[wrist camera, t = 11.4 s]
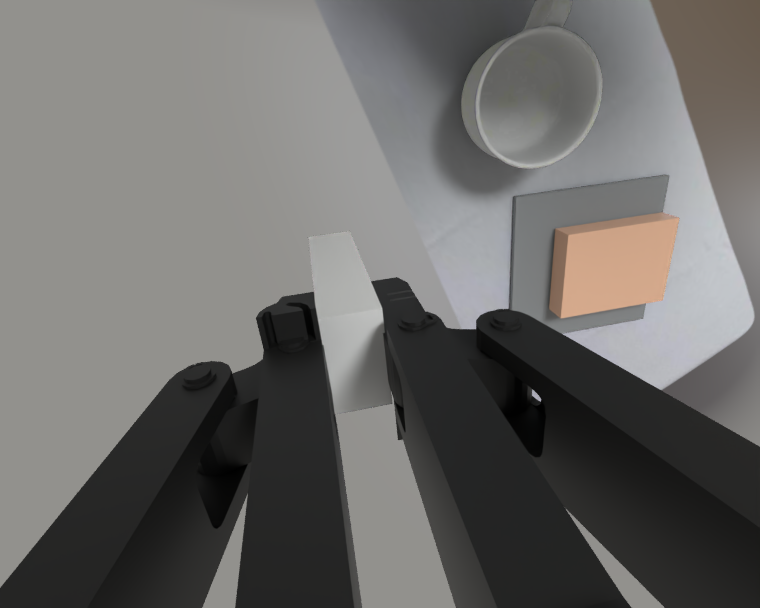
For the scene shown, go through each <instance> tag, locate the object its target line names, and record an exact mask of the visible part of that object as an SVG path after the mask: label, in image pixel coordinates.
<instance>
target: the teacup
mask: <svg viewBox="0 0 760 608" xmlns="http://www.w3.org/2000/svg"><path fill="white" fill-rule="evenodd" d="M572 1H573V0H536V1H535V3H534V5H533V8H532V10H531V12H530V15H529V17H528V20H527V22H526V25H525V27H524V29H523V30H522V31H521V32H519V33H517V34H515V35H513V36H511V37H508V38H506V39H504V40H502V41H499V42H498V43H496V44H495V45H493V46H491V47H490V48H489V49H488V50H486V51H485V52H484V53H483V54H482V55H481V56H480V57H479V59H478V60H477V61H476V63H475V64H474V65H473V67H472V69H471V70H470V72H469V74H468V76H467V79H466V81H465V84H464V88H463V92H462V99H461V112H462V118H463V122H464V125H465V128H466V130H467V132H468V134H469V136H470V137H471V139H472V140H473V142H474V143H475V144H476V145H477V146H478V147H479V148H480V149H481V150H483V151H484V152H485V153H487V154H489V155H491V156H493V157H495V158H497V159H499V160H501V161H502V162H504V163H506V164H508V165H511V166H514V167H517V168H522V169H536V168H542V167H546V166H549V165H551V164H554V163H556V162H557V161H559V160H561V159H563V158H564V157H566V156H567V155H568V154H570V153H571V152H572V151H573V150H574V149H575V148H576V147H577V146H578V145H579V144H580V143H581V142H582V141H583V140H584V138H585V137H586V135H587V134H588V133H589V131H590V129H591V128H592V126H593V124H594V121H595V119H596V117H597V114H598V112H599V107H600V104H601V97H602V90H603V88H602V85H603V83H602V72H601V69H600V65H599V61H598V59H597V57H596V55H595V52H594V51H593V50H592V48H591V46H590V45H589V44H588V43H587V42H586V41H585V40H584V39H583V38H581V37H580V36H579V35H577V34H575V33H574V32H571V31H569V30H567V29H565V28H562V27H563V25H564V23H565V21H566V19H567V17H568V15H569V12H570V9H571V6H572Z"/></svg>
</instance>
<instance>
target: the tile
mask: <svg viewBox="0 0 760 608" xmlns="http://www.w3.org/2000/svg"><path fill="white" fill-rule="evenodd" d="M678 223H679V217H675V216H672V215H669V214H666V213H662V212H660V213H654V214H647V215H641V216H634V217H628V218H621V219H614V220H608V221H601V222H595V223H588V224H582V225H575V226H569V227H562V228H556V229H555V240H554V253H553V265H552V278H551V291H550V304H549V309H550V310H551V311H552V312H553V313H555V314H556V315H557V316H558V317H559V318H567V317H572V316H578V315H583V314H589V313H595V312H600V311H606V310H611V309H617V308H623V307H628V306H634V305H639V304H645V303H651V302H656V301H662V300H663V297H664V292H665V287H666V282H667V277H668V272H669V267H670V262H671V257H672V252H673V247H674V242H675V237H676V233H677V228H678Z"/></svg>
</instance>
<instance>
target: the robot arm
mask: <svg viewBox="0 0 760 608" xmlns="http://www.w3.org/2000/svg"><path fill="white" fill-rule="evenodd" d="M308 240H309V249H310V258H311V268H312V278H313V286H314V292H310V293H304V294H297V295H291V296H285V297H282V298H281V299H280V300H279V301H278V302H277V303H276V304H274V305H271V306H269V307H266V308H265V309H263V310H262V311H261V312H259V314H258V316H257V317H256V320H257V324H258V328H259V332H260V336H261V340H262V344H263V348H264V354H263V360H261V361H260V362H258V363H257V364H255V365H253V366H251V367H249V368H246V369H244V370H241V371H238V372H235V373H233V374H232V371H231V369H230V367H229V365H227V364H225V363H223V362H215V361H210V362H201V363H197V364H196V365H191V366H189V367H187V368H186V369H184V370H182V371H180V372H178V373H177V374H176V375H175V376H174V377H172V378H171V379H170V380H169V381H168V382H167V384H166V385H165V386H164V387H163V389H162V390H161V391H160V392H159V394H158V395H157V396H156V397H155V399H154V400H153V401H152V402H151V403H150V405H149V406H148V407H147V408H146V410H145V411H144V412H143V413H142V414H141V416H140V417H139V418H138V419H137V421H136V422H135V423H134V424H133V425H132V427H131V428H130V429H129V430H128V432H127V433H126V434H125V435H124V437H123V438H122V439H121V440H120V441H119V443H118V444H117V445H116V446H115V448H114V449H113V450H112V451H111V452H110V454H109V455H108V456H107V457H106V459H105V460H104V461H103V462H102V464H101V465H100V466H99V467H98V468H97V470H96V471H95V472H94V474H93V475H92V476H91V477H90V478H89V480H88V481H87V482H86V483H85V484H84V486H83V487H82V488H81V489H80V491H79V492H78V493H77V494H76V495H75V497H74V498H73V499H72V500H71V502H70V503H69V504H68V505H67V507H66V508H65V509H64V510H63V511H62V513H61V514H60V515H59V516H58V518H57V519H56V520H55V521H54V523H53V524H52V525H51V526H50V527H49V529H48V530H47V531H46V533H45V534H44V535H43V536H42V537H41V539H40V540H39V541H38V542H37V543H36V545H35V546H34V547H33V548H32V550H31V551H30V552H29V554H27V556H26V557H25V558H24V559H23V561H22V562H21V563H20V564H19V566H18V567H17V568H16V570H15V571H14V572H13V573H12V574H11V575H10V577H9V578H8V579H7V580H6V582H5V583H4V584H3V585H2V586H1V588H0V608H202V607H203V604H204V602H205V599H206V597H207V594H208V592H209V589H210V586H211V584H212V581H213V579H214V577H215V574H216V572H217V569H218V566H219V564H220V561H221V559H222V556H223V554H224V551H225V549H226V546H227V544H228V541H229V539H230V536H231V533H232V531H233V529H234V526H235V523H236V521H237V519H238V516H239V513H240V511H241V509H242V506H243V504H244V501H245V498H246V496H247V494H248V498H247V507H246V516H245V525H244V534H243V543H242V552H241V561H240V571H239V579H238V589H237V597H236V607H235V608H362V604H361V596H360V590H359V582H358V575H357V567H356V560H355V552H354V545H353V538H352V531H351V523H350V516H349V509H348V502H347V494H346V487H345V480H344V472H343V465H342V458H341V450H340V443H339V436H338V429H337V423H336V417H335V415H336V414H341V413H346V412H351V411H357V410H362V409H367V408H372V407H378V406H383V405H387V404H392V396H391V392H392V395H393V398H394V405H395V415H396V424H397V434H398V440H402V439H403V441H404V444H405V447H406V451H407V454H408V457H409V460H410V463H411V466H412V469H413V473H414V476H415V479H416V482H417V485H418V488H419V492H420V495H421V498H422V501H423V504H424V508H425V511H426V514H427V517H428V520H429V523H430V526H431V530H432V533H433V536H434V539H435V542H436V546H437V549H438V552H439V555H440V558H441V561H442V565H443V568H444V571H445V574H446V577H447V580H448V584H449V586H450V590H451V593H452V596H453V599H454V603H455V606H456V608H631V607H630V605H629V604H628V603H627V601H626V600H625V599H624V597H623V596H622V594H621V593H620V591H619V590H618V588H617V587H616V585H615V584H614V582H613V581H612V579H611V578H610V576H609V575H608V573H607V572H606V570H605V568H604V567H603V565H602V564H601V563H600V561H599V559H598V558H597V556H596V555H595V553H594V552H593V550H592V549H591V547H590V546H589V544H588V543H587V541H586V540H585V538H584V537H583V535H582V533H581V532H580V530H579V529H578V527H577V526H576V524H575V523H574V521H573V520H572V518H571V517H570V515H569V514H568V512H567V511H566V509H567V510H568V511H569V512H570V513H571V514H572V515H573V516H574V517H575V518H576V519H577V520H578V521H579V522H580V523H581V524H582V525H583V526H584V527H585V528H586V529H587V530H588V531H589V532H590V533H591V534H592V535H593V536H594V537H595V538H596V539H597V540H598V541H599V542H600V543H601V544H602V545H603V546H604V547H605V548H606V549H607V550H608V551H609V552H610V553H611V554H612V555H613V556H614V557H615V558H616V559H617V560H618V561H619V562H620V563H621V564H622V565H623V566H624V567H625V568H626V569H627V570H628V571H629V572H630V573H631V574H632V575H633V576H634V577H635V578H636V579H637V580H638V581H639V582H640V583H641V584H642V585H643V586H644V587H645V588H646V589H647V590H648V591H649V592H650V593H651V594H652V595H653V596H654V597H655V598H656V599H657V600H658V601H659V602H660V603H661V604H662V605H663V606H664V607H665V608H760V447H759V446H758V445H756V444H754V443H752V442H750V441H749V440H747V439H745V438H743V437H742V436H740V435H738V434H736V433H735V432H733V431H731V430H729V429H728V428H726V427H724V426H722V425H721V424H719V423H717V422H715V421H713V420H712V419H710V418H708V417H707V416H705V415H703V414H701V413H700V412H698V411H696V410H694V409H693V408H691V407H689V406H687V405H686V404H684V403H682V402H680V401H679V400H677V399H675V398H673V397H672V396H670V395H668V394H666V393H664V392H663V391H661V390H659V389H658V388H656V387H654V386H652V385H650V384H649V383H647V382H645V381H643V380H642V379H640V378H638V377H636V376H635V375H633V374H631V373H629V372H628V371H626V370H624V369H622V368H621V367H619V366H617V365H615V364H614V363H612V362H610V361H608V360H607V359H605V358H603V357H601V356H600V355H598V354H596V353H594V352H593V351H591V350H589V349H587V348H586V347H584V346H582V345H580V344H579V343H577V342H575V341H573V340H572V339H570V338H568V337H566V336H564V335H563V334H561V333H559V332H557V331H556V330H554V329H552V328H550V327H549V326H547V325H545V324H543V323H542V322H540V321H538V320H536V319H535V318H533V317H531V316H529V315H527V314H525V313H522V312H519V311H513V310H510V309H504V310H503V309H498V310H495V311H490V312H487V313H484V314H482V315H480V317H479V318H478V319H477V320H476V329H450V328H446V326H445V325H444V323H443V322H442V320H441V319H440V318H439V317H438V316H437V315H435V314H432V313H429V312H425V311H424V309H423V307H422V306H421V304H420V302H419V301H418V299H417V298H416V297H415V294H414V293H413V292H412V289H411V288H410V286H409V284H408V283H407V282H405V281H403V280H401V279H399V278H397V277H396V278H390V279H383V280H377V281H371V280H370V278H369V276H368V273H367V271H366V269H365V266H364V264H363V262H362V259H361V257H360V254H359V252H358V249H357V247H356V245H355V242H354V240H353V238H352V235H351V233H350V231H346V232H339V233H332V234H325V235H318V236H311V237H308ZM532 389H533V390H534V391H535V392H536V393H537V394H538V395H539V396H540V398H541V402H540V401H538V400H537V399H535V398H534V397H533V396H532ZM564 507H565V508H566V509H565V508H564Z"/></svg>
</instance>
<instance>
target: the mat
mask: <svg viewBox="0 0 760 608" xmlns="http://www.w3.org/2000/svg"><path fill="white" fill-rule="evenodd" d="M668 180H669V175H660V176H653V177H646V178H639V179H632V180H625V181H618V182H611V183H604V184H597V185H590V186H583V187H576V188H569V189H562V190H555V191H548V192H541V193H534V194H527V195H520V196H514V200H513V229H512V258H511V286H510V310H513V311H519V312H522V313H525V314H527V315H529V316H531V317H533V318H535V319H536V320H538V321H540V322H542V323H543V324H545V325H547V326H549V327H550V328H552V329H554V330H556V331H557V332H559V333H567V332H572V331H578V330H583V329H589V328H594V327H600V326H605V325H611V324H616V323H622V322H627V321H632V320H638V319H643V316H644V311H645V305H646V303H645V304H639V305H634V306H628V307H623V308H617V309H611V310H606V311H600V312H595V313H589V314H583V315H578V316H572V317H567V318H559V317H558V316H557V315H556V314H555V313H553V312H552V311H551V310H550V309H549V304H550V291H551V278H552V265H553V253H554V240H555V229H556V228H562V227H569V226H575V225H582V224H588V223H595V222H601V221H608V220H614V219H621V218H628V217H634V216H641V215H647V214H654V213H660V212H662V213H663V208H664V202H665V197H666V191H667V186H668Z"/></svg>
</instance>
